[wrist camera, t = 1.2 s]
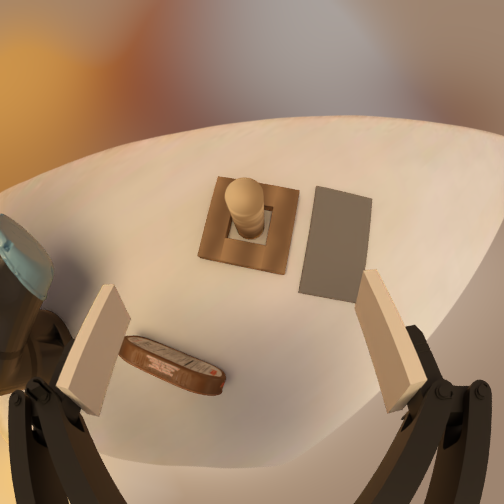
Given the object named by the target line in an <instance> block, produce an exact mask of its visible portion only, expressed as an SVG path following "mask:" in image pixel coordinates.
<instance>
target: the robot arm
mask: <svg viewBox="0 0 504 504" xmlns="http://www.w3.org/2000/svg"><path fill="white" fill-rule="evenodd" d="M53 277H54V267H53V264H52V261H51V259H50V257H49V256H48V254H47V253H46V251H45V250H44V249H43V247H42V246H41V245H40V244H39V243H38V242H37V241H36V240H35V239H34V237H33V236H32V235H30V234H29V233H28V232H27V231H26V230H25V229H24V228H23V227H22V226H20V225H19V224H18V223H17V222H15V221H14V220H12V219H11V218H9V217H8V216H6V215H4V214H0V396H2V395H6V394H10V393H12V394H11V396H10V398H9V413H8V432H9V452H10V464H11V473H12V481H13V487H14V492H15V498H16V503H17V504H69V502H68V499H69V501H70V503H71V504H127V503H126V501H125V500H124V498H123V496H122V495H121V493H120V492H119V490H118V488H117V486H116V485H115V483H114V481H113V480H112V478H111V476H110V474H109V472H108V471H107V469H106V467H105V465H104V463H103V461H102V459H101V457H100V455H99V453H98V451H97V449H96V447H95V445H94V442H93V440H92V438H91V436H90V433H89V431H88V429H87V426H86V424H85V421H84V419H83V417H82V415H81V414H80V410H81V409H82V410H83V411H85V412H86V413H87V414H91V415H95V416H99V415H100V412H101V408H102V404H103V401H104V397H105V394H106V391H107V387H108V384H109V381H110V378H111V375H112V371H113V368H114V365H115V362H116V359H117V356H118V353H119V351H120V348H121V345H122V342H123V339H124V336H125V334H126V331H127V328H128V325H129V323H130V320H131V318H130V316H129V314H128V312H127V310H126V308H125V306H124V304H123V302H122V300H121V298H120V296H119V294H118V291H117V289H116V287H115V285H114V284H112V285H103V286H102V288H101V290H100V291H99V293H98V295H97V297H96V299H95V301H94V303H93V305H92V307H91V309H90V310H89V312H88V314H87V316H86V318H85V320H84V322H83V325H82V327H81V329H80V331H79V333H78V335H77V337H76V339H72V338H71V335H70V333H69V331H68V329H67V327H66V326H65V324H64V323H63V321H62V320H61V319H60V318H59V317H58V316H57V315H56V314H54V313H53V312H51V311H48V310H40V307H41V305H42V303H43V301H44V300H46V298H47V291H48V289H49V287H50V285H51V282H52V280H53ZM355 311H356V314H357V317H358V320H359V323H360V325H361V328H362V331H363V334H364V337H365V340H366V343H367V346H368V349H369V352H370V356H371V359H372V362H373V365H374V368H375V372H376V375H377V378H378V382H379V385H380V389H381V392H382V395H383V400H384V403H385V407H386V410H387V413H391V412H395V411H399V410H402V409H403V408H404V407H405V406H406V405H408V409H409V411H408V412H407V413H406V414H405V415H404V416H403V417H402V419H401V420H403V419H404V421H403V423H402V425H401V427H400V429H399V431H398V433H397V435H396V437H395V439H394V440H393V442H392V444H391V446H390V448H389V450H388V452H387V454H386V455H385V457H384V459H383V460H382V462H381V464H380V466H379V467H378V469H377V470H376V472H375V473H374V475H373V477H372V478H371V480H370V481H369V483H368V484H367V486H366V487H365V489H364V490H363V492H362V493H361V495H360V496H359V497H358V499H357V500H356V501H355V503H354V504H409V503H410V502H411V500H412V498H413V496H414V495H415V493H416V491H417V489H418V487H419V485H420V484H421V482H422V480H423V478H424V475H425V474H426V472H427V470H428V467H429V465H430V463H431V461H432V459H433V456H434V454H435V452H436V450H437V447H438V450H437V456H436V460H435V465H434V469H433V474H432V477H431V481H430V485H429V489H428V492H427V496H426V499H425V502H424V504H480V500H481V496H482V491H483V487H484V482H485V476H486V470H487V464H488V456H489V447H490V435H491V417H492V415H491V414H492V393H491V388H490V386H489V385H488V383H486V382H485V381H483V380H476V381H475V382H473V383H472V384H471V385H470V386H453V385H452V384H451V383H450V382H449V381H447V380H444V379H443V378H442V375H441V373H440V371H439V368H438V366H437V364H436V361H435V359H434V357H433V354H432V352H431V351H430V348H429V346H428V344H427V343H426V342H427V341H426V339H425V337H424V335H423V333H422V332H421V331H420V330H419V329H418V328H417V327H416V326H415V325H412V326H407V327H405V326H404V323H403V321H402V319H401V317H400V315H399V313H398V311H397V309H396V306H395V304H394V302H393V300H392V298H391V296H390V294H389V292H388V290H387V288H386V286H385V284H384V283H383V281H382V279H381V277H380V275H379V273H378V271H377V269H375V270H364V271H363V274H362V278H361V283H360V287H359V292H358V296H357V300H356V304H355ZM24 389H25V393H24V392H23V391H22V390H24ZM32 425H33V427H34V428H33V430H32ZM67 497H68V498H67Z"/></svg>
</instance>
